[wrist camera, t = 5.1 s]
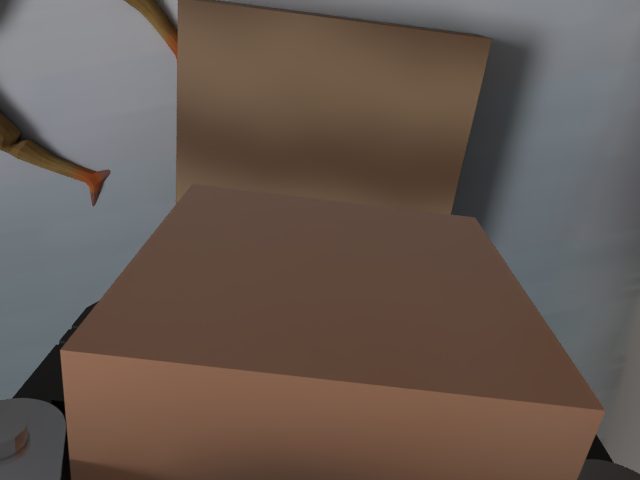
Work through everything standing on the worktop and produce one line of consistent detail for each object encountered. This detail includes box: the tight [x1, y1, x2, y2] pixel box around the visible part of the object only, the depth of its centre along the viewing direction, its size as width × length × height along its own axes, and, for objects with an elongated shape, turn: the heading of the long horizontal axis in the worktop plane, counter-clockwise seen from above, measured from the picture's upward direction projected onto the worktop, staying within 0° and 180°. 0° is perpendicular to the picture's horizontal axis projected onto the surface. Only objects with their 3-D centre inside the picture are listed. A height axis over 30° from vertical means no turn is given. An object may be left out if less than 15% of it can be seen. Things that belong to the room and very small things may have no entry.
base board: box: [176, 0, 492, 214], centre depth 24 cm, size 10×12×2 cm
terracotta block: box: [60, 184, 606, 480], centre depth 8 cm, size 5×5×5 cm
